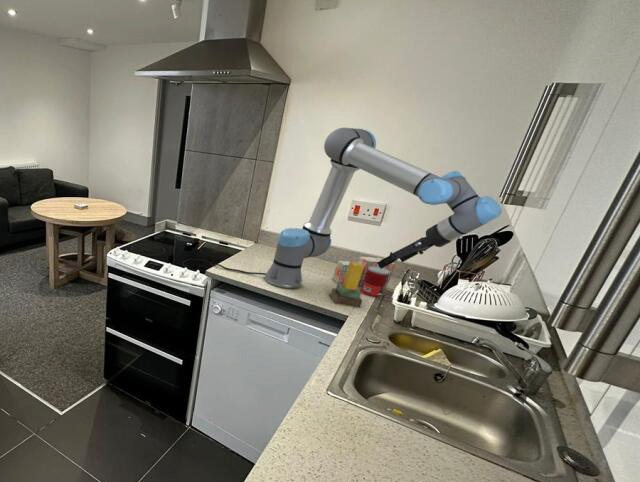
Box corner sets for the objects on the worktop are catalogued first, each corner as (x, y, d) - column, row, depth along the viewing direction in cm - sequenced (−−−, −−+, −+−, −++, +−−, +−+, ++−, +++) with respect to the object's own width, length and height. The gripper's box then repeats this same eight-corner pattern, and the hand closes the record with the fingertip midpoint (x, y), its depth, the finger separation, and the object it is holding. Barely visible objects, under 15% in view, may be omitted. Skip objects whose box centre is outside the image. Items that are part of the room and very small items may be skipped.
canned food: (382, 298, 165) (392, 274, 160) (361, 294, 167) (370, 270, 163) (379, 292, 171) (387, 268, 167) (358, 288, 174) (367, 265, 169)
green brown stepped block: (335, 303, 156) (340, 289, 153) (330, 294, 164) (334, 281, 162) (359, 307, 154) (364, 293, 152) (353, 298, 162) (357, 285, 160)
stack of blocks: (337, 284, 176) (345, 258, 171) (332, 279, 182) (340, 253, 177) (386, 289, 175) (396, 263, 170) (379, 284, 181) (388, 259, 176)
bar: (345, 288, 155) (352, 264, 151) (342, 284, 159) (350, 261, 155) (356, 290, 155) (364, 266, 151) (353, 286, 158) (360, 263, 154)
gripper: (430, 247, 127) (375, 277, 145) (470, 235, 137) (414, 264, 155) (417, 228, 129) (364, 259, 147) (457, 218, 139) (403, 248, 157)
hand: (390, 262), depth 151 cm, fingers open, 13 cm apart
